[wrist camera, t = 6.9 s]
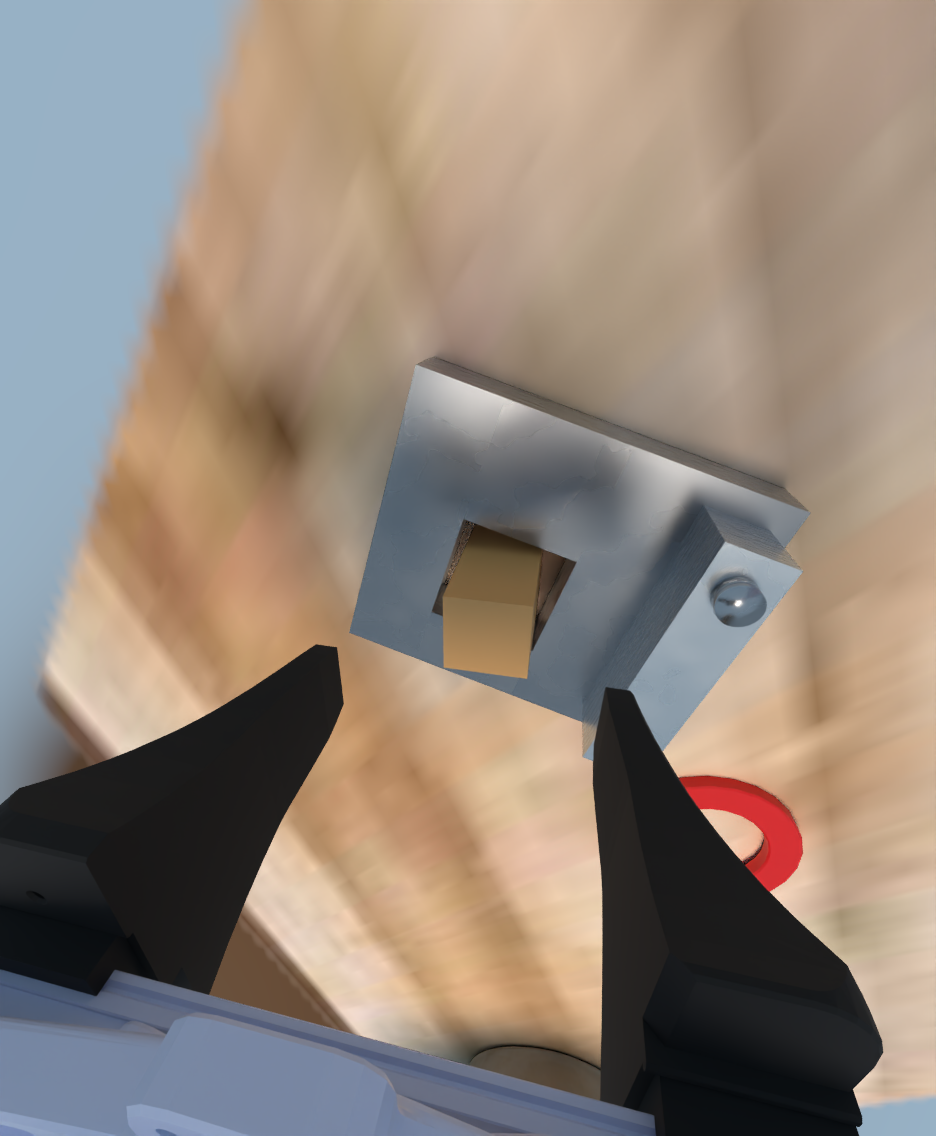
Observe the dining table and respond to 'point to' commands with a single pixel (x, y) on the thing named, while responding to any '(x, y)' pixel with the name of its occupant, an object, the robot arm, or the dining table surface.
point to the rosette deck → (577, 547)
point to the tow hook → (764, 812)
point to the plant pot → (542, 1069)
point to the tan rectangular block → (492, 605)
